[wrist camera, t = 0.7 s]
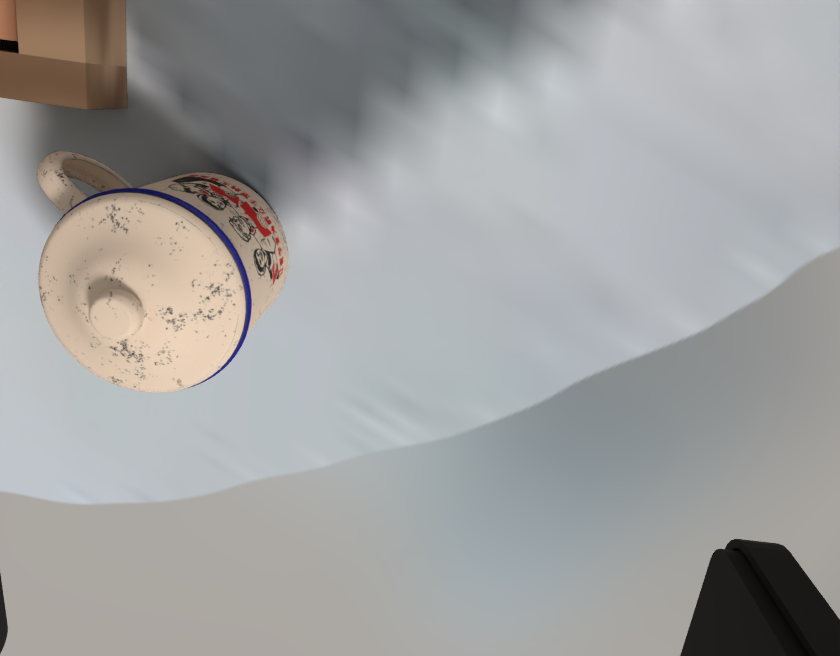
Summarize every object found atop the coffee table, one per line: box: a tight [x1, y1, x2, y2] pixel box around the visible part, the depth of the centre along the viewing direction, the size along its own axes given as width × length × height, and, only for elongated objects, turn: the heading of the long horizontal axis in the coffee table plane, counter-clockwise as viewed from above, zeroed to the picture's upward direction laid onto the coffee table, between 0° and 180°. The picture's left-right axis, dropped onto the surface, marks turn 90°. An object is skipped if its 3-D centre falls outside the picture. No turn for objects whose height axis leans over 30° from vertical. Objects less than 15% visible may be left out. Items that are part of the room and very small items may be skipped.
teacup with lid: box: [37, 151, 288, 392], centre depth 31 cm, size 12×9×12 cm
